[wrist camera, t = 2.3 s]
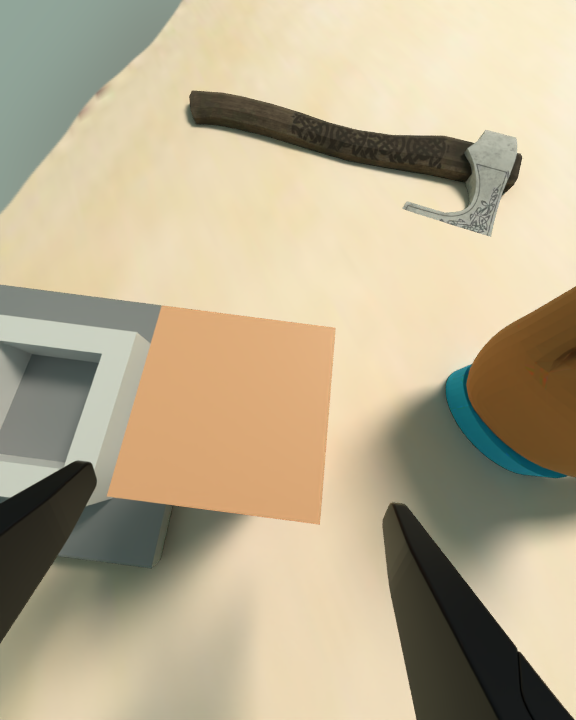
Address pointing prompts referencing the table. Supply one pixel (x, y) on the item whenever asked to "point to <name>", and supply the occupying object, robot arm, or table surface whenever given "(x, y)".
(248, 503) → the tan square peg
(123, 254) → the table surface
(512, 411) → the toy
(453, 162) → the axe
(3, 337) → the housing
